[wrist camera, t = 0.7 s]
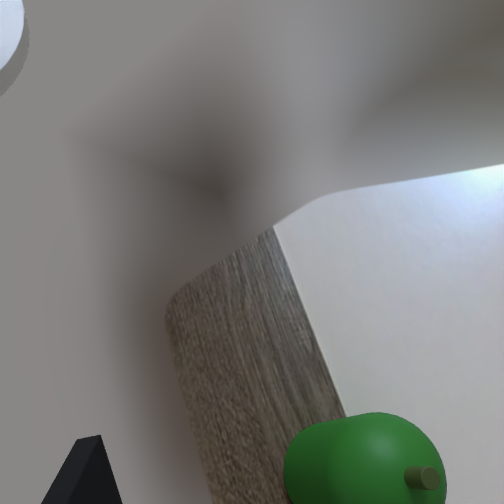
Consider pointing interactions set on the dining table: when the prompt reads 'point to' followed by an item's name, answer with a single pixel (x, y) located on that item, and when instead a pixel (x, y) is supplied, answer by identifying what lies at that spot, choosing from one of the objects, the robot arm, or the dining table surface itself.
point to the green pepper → (364, 463)
